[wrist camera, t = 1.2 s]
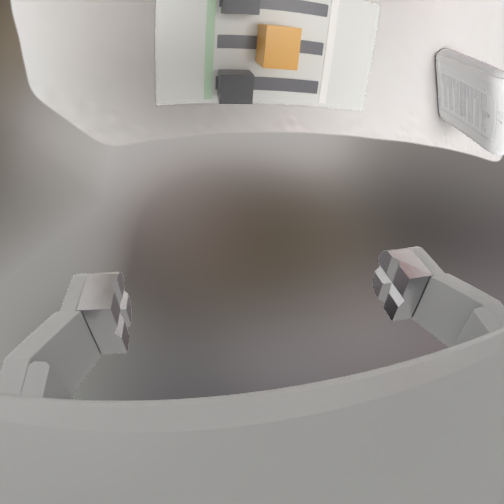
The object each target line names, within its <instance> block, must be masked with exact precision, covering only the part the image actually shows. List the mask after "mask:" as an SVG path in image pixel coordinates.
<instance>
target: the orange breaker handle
mask: <svg viewBox="0 0 504 504" xmlns="http://www.w3.org/2000/svg"><path fill="white" fill-rule="evenodd" d="M301 34H302V28H296V27H290V26H281V25H270V24H258V34H257V47H256V59H255V62H256V63H258V64H259V65H260V66H261V67H263V68H270V69H285V70H296V71H297V69H298V61H299V52H300V43H301Z"/></svg>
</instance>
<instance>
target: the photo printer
mask: <svg viewBox="0 0 504 504" xmlns="http://www.w3.org/2000/svg"><path fill="white" fill-rule="evenodd" d="M436 71H437V87H438V104H439V114H440V117H441V118H442V119H443V120H444V121H446V122H448V123H449V124H451V125H452V126H454V127H455V128H456V129H458V130H459V131H461V132H462V133H464V134H465V135H466V136H468V137H469V138H471V139H472V140H473V141H475V142H476V143H477V144H479V145H480V146H481V147H483V148H484V149H485V150H487V151H488V152H491V153H493V154H496V155H503V154H504V71H502V70H500V69H498V68H496V67H494V66H491V65H489V64H487V63H484V62H482V61H479V60H477V59H475V58H472V57H470V56H467V55H464V54H462V53H459V52H456V51H453V50H451V49H442V50H440V51H439V52H438V54H437V55H436Z"/></svg>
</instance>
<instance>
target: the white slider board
mask: <svg viewBox="0 0 504 504" xmlns="http://www.w3.org/2000/svg"><path fill="white" fill-rule="evenodd" d="M380 6H381V5H379V4H376V3H373V2H369V1H365V0H156V16H155V75H156V106H162V105H178V104H204V103H219V104H252V103H256V104H282V105H298V106H312V107H323V108H333V109H343V110H351V111H359V112H363V107H364V102H365V97H366V92H367V86H368V81H369V76H370V70H371V64H372V59H373V53H374V47H375V40H376V34H377V27H378V20H379V13H380ZM258 24H270V25H281V26H290V27H296V28H302V34H301V43H300V52H299V61H298V69H297V71H296V70H285V69H270V68H263V67H261V66H260V65H259V64H258V63H256V62H255V59H256V47H257V34H258Z"/></svg>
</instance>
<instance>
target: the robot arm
mask: <svg viewBox="0 0 504 504" xmlns="http://www.w3.org/2000/svg"><path fill="white" fill-rule="evenodd" d="M378 262H379V265H380V266H379V268H378V269H377V270H376V271H375V272H374V276H373V289H374V292H375V294H376V296H377V298H378V299H380V300H381V301H383V302H385V303H384V309H385V311H386V312H387V314H388V315H389V317H390V319H391V320H392V321H397V320H403V319H408V318H412V319H413V320H414V321H416V322H417V323H418V324H420V325H421V326H422V327H423V328H425V329H426V330H428V331H429V332H430V333H431V334H433V335H434V336H435V337H436V338H438V339H439V340H441V341H442V342H443V343H444V344H446V345H447V346H448V347H449V348H447V349H443V350H440V351H437V352H434V353H431V354H428V355H425V356H422V357H418V358H414V359H411V360H408V361H405V362H401V363H398V364H393V365H390V366H386V367H382V368H378V369H374V370H370V371H366V372H362V373H358V374H353V375H349V376H344V377H340V378H335V379H330V380H325V381H320V382H315V383H309V384H304V385H298V386H292V387H286V388H280V389H274V390H266V391H259V392H251V393H243V394H235V395H225V396H215V397H203V398H189V399H174V400H147V401H97V400H74V399H73V398H72V395H73V394H74V393H75V391H76V390H77V388H78V387H79V385H80V384H81V383H82V381H83V380H84V379H85V377H86V376H87V375H88V373H89V372H90V370H91V369H92V367H93V366H94V365H95V364H96V362H97V361H98V360H99V358H100V357H101V354H117V353H128V344H129V333H128V330H127V328H128V327H129V326H130V325H131V317H132V315H131V314H132V313H131V303H130V299H129V295H128V293H126V292H125V291H124V287H125V280H124V277H123V274H122V273H121V272H105V273H90V274H89V273H87V274H75V275H74V276H73V277H72V279H71V282H70V285H69V287H68V290H67V293H66V295H65V298H64V301H63V304H62V307H61V309H60V312H55V313H53V314H52V315H51V316H50V317H49V318H48V319H47V320H46V321H45V322H43V323H42V324H41V325H40V326H39V327H38V328H37V329H36V330H35V331H33V332H32V333H31V334H30V335H29V336H28V337H27V338H26V339H25V340H24V341H22V342H21V343H20V344H19V345H18V346H17V347H16V348H15V349H14V350H13V351H12V352H11V353H10V354H9V355H8V356H7V357H5V359H4V362H3V365H2V368H1V371H0V504H504V306H503V305H502V304H501V302H500V301H499V300H497V299H495V298H493V297H492V296H490V295H488V294H486V293H484V292H482V291H481V290H479V289H477V288H475V287H473V286H471V285H469V284H467V283H466V282H464V281H462V280H460V279H458V278H456V277H454V276H452V275H450V274H445V273H444V272H443V271H442V270H441V269H440V268H439V266H438V265H437V264H436V263H435V262H434V261H433V259H432V258H431V257H430V256H429V255H428V254H427V253H426V252H425V251H424V250H423V249H422V248H420V247H410V248H406V249H396V250H385V251H382V252H381V254H380V256H379V259H378Z"/></svg>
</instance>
